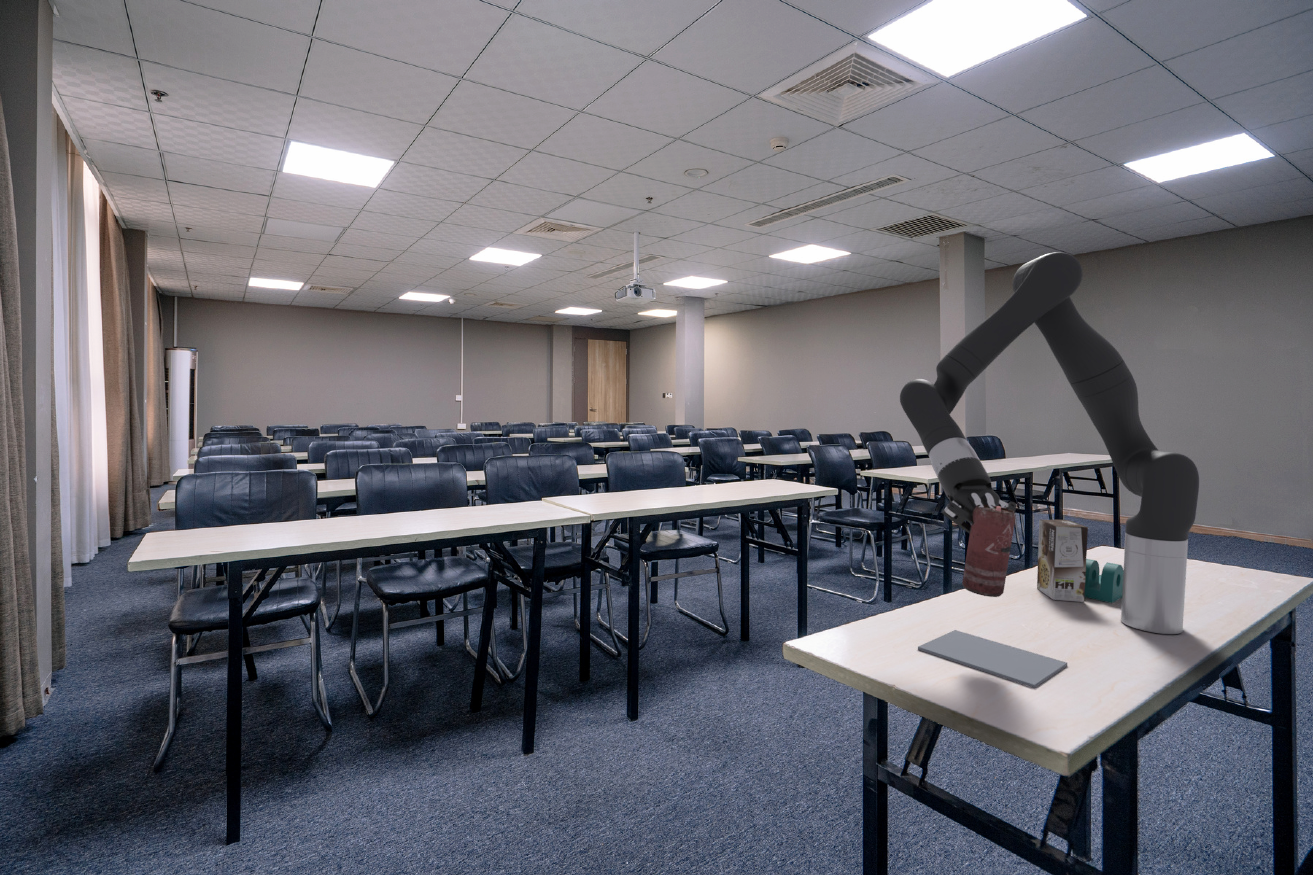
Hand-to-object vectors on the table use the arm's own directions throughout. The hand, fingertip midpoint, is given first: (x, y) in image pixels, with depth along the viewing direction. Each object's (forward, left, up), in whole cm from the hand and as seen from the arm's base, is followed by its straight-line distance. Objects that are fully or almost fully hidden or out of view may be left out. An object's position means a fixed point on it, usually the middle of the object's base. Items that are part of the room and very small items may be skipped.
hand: (1003, 554), depth 100 cm
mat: (-1, -2, -18) cm, 18 cm away
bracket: (-61, -2, -18) cm, 64 cm away
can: (-1, -3, -7) cm, 8 cm away
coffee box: (-49, -8, -18) cm, 53 cm away
